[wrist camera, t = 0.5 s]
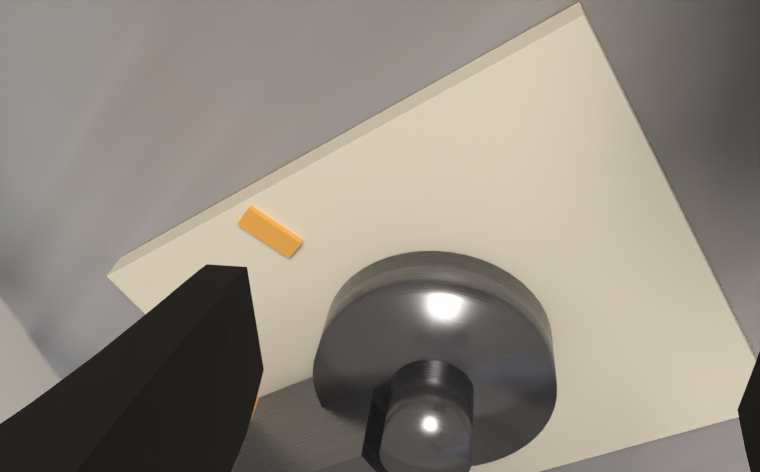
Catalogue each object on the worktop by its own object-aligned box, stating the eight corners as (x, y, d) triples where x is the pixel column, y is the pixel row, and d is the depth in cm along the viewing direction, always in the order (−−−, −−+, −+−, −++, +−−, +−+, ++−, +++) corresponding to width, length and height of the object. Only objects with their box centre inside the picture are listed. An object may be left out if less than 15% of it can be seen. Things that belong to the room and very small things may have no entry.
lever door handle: (481, 213, 19) (478, 321, 15) (591, 380, 22) (610, 504, 18) (179, 351, 24) (122, 458, 20) (302, 473, 26) (272, 586, 23)
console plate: (767, 382, 22) (779, 411, 21) (358, 500, 29) (353, 526, 28) (579, 2, 17) (585, 17, 16) (120, 257, 23) (103, 279, 22)
